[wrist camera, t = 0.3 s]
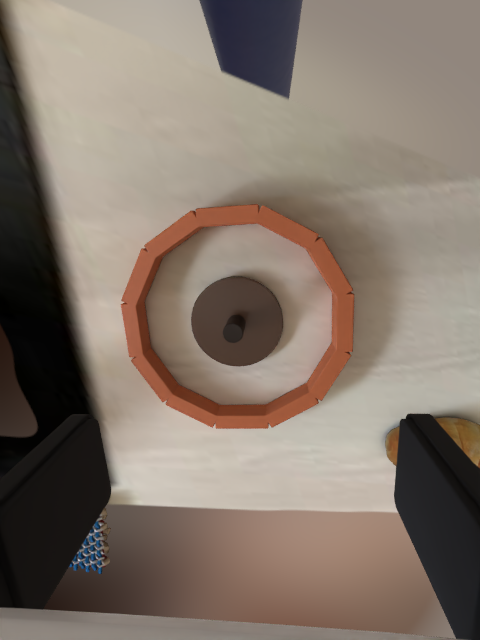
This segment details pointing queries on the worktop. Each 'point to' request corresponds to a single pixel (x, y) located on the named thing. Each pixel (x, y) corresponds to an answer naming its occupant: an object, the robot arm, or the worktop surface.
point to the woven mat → (94, 547)
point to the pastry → (466, 434)
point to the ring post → (237, 321)
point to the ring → (196, 403)
